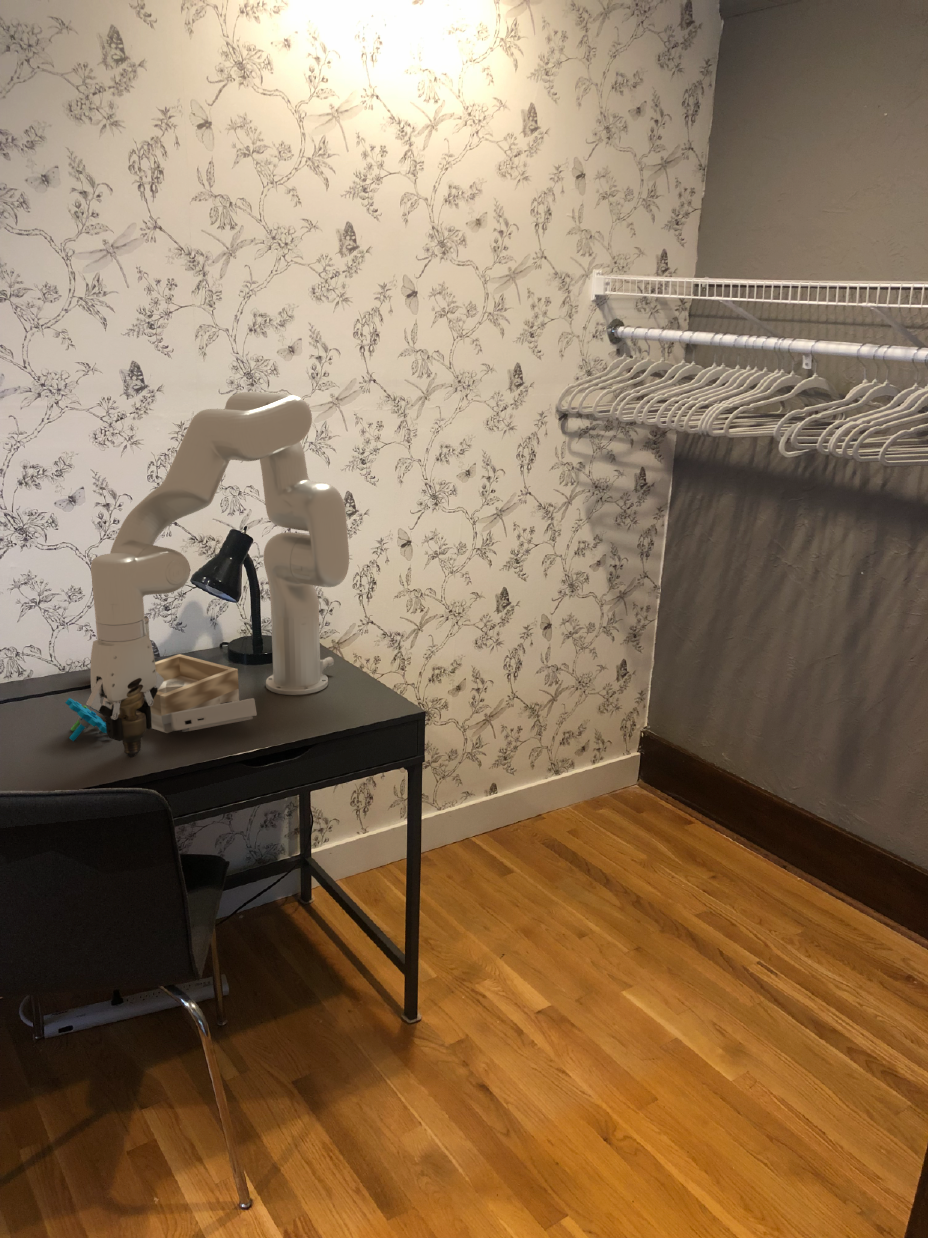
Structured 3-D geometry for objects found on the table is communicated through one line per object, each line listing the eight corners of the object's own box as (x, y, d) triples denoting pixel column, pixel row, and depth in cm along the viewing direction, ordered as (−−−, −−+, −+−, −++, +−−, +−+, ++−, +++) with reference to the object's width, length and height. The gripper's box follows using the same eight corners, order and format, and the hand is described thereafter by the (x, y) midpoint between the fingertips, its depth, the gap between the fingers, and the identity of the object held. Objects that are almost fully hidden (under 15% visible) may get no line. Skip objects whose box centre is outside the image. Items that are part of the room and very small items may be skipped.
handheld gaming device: (258, 717, 170) (254, 696, 170) (174, 733, 163) (170, 711, 163) (244, 721, 177) (241, 700, 178) (164, 736, 170) (160, 715, 171)
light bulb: (107, 757, 161) (99, 673, 157) (132, 746, 165) (125, 664, 161) (131, 764, 158) (124, 679, 154) (156, 752, 163) (150, 669, 159)
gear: (121, 735, 166) (73, 701, 162) (98, 762, 165) (49, 729, 160) (113, 721, 176) (67, 689, 171) (91, 747, 174) (44, 715, 170)
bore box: (181, 686, 194) (179, 654, 192) (239, 703, 186) (237, 669, 184) (107, 714, 179) (104, 678, 177) (167, 733, 171) (164, 696, 169)
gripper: (147, 614, 164) (154, 712, 170) (60, 638, 150) (71, 745, 155) (177, 621, 161) (184, 721, 166) (92, 647, 147) (102, 755, 152)
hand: (129, 731), depth 161 cm, fingers closed on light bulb, 5 cm apart
